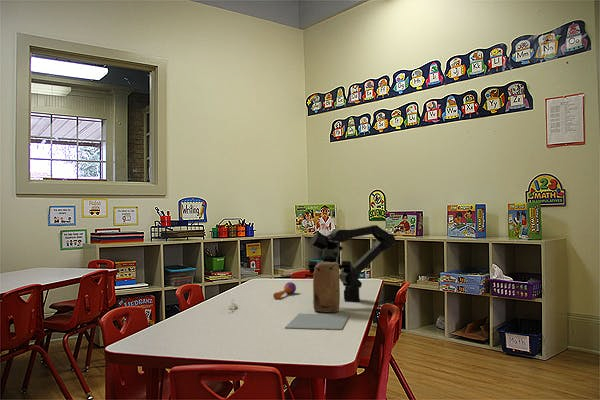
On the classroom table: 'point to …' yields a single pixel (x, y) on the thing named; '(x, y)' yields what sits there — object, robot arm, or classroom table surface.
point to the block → (326, 287)
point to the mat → (318, 321)
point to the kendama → (286, 290)
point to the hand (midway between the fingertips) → (328, 282)
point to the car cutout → (232, 305)
